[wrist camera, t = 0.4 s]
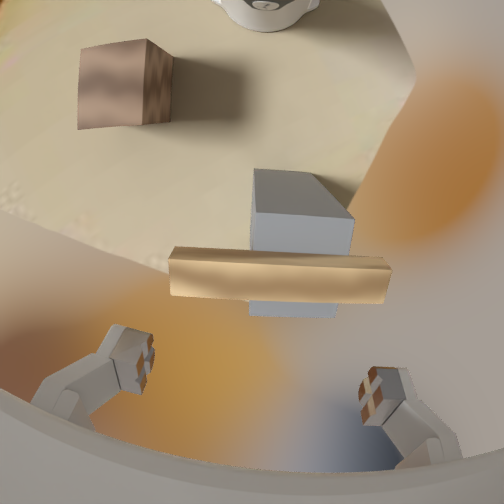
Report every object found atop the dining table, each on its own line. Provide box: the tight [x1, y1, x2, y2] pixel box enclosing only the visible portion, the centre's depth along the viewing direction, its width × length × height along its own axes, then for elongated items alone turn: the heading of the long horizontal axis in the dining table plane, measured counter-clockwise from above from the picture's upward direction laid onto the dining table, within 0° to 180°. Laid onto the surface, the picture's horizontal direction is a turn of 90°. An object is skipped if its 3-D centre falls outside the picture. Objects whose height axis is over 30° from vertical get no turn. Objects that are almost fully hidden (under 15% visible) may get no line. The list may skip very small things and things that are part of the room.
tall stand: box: [249, 169, 355, 318], centre depth 45 cm, size 12×10×26 cm
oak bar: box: [168, 246, 392, 303], centre depth 32 cm, size 4×22×3 cm, turn 87°
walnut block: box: [78, 39, 173, 130], centre depth 41 cm, size 12×10×15 cm
